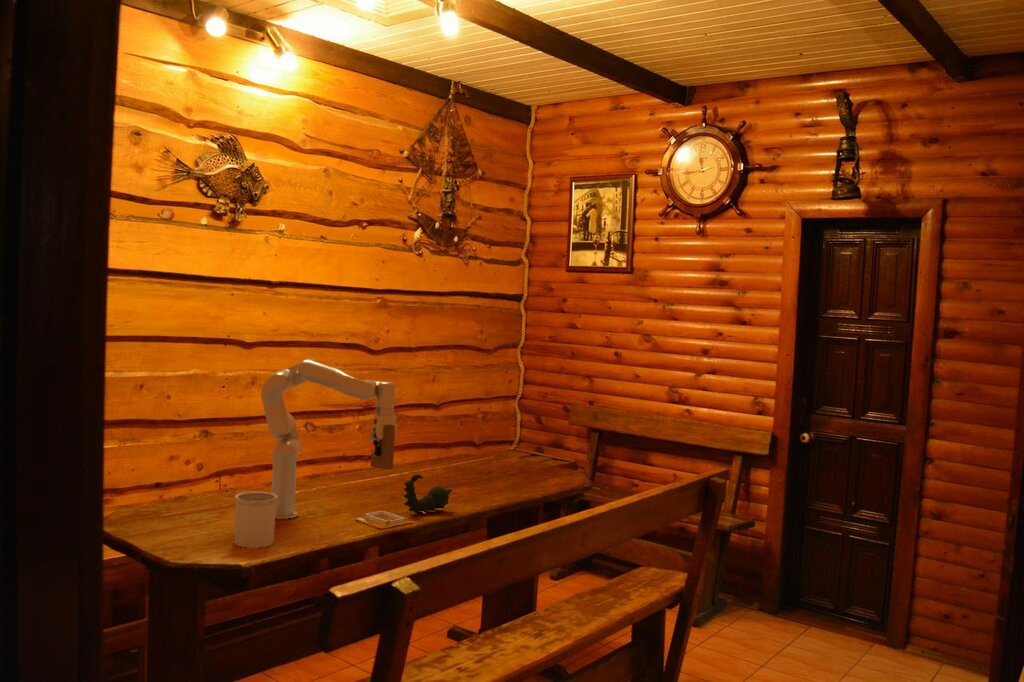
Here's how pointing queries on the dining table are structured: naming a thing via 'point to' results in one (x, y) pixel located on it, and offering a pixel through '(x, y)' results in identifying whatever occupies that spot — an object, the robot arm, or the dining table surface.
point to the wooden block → (385, 450)
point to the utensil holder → (255, 519)
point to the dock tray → (373, 514)
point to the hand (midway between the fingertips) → (382, 454)
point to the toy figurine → (425, 497)
